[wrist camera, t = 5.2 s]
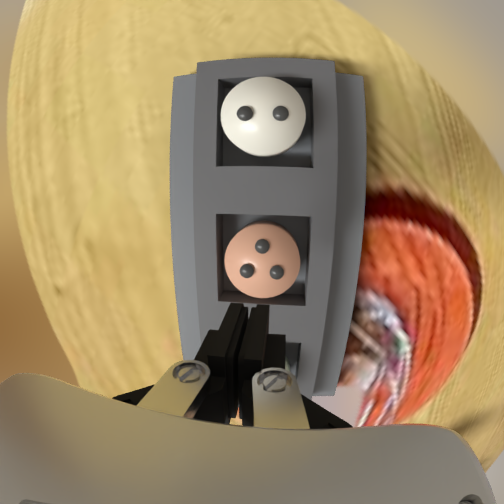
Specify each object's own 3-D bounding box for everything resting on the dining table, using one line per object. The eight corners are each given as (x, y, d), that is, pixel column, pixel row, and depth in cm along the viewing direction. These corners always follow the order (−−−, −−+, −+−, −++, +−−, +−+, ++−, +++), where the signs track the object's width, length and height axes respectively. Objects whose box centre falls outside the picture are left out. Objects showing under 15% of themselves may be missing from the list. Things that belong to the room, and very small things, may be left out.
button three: (230, 219, 19) (223, 224, 17) (300, 221, 18) (302, 226, 16) (230, 285, 20) (224, 296, 18) (296, 288, 20) (297, 300, 17)
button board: (180, 82, 18) (163, 68, 15) (358, 82, 17) (370, 66, 13) (191, 376, 25) (181, 398, 22) (332, 385, 24) (336, 410, 20)
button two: (228, 88, 15) (221, 77, 13) (302, 88, 15) (304, 76, 13) (227, 157, 17) (219, 154, 15) (303, 158, 16) (306, 155, 14)
